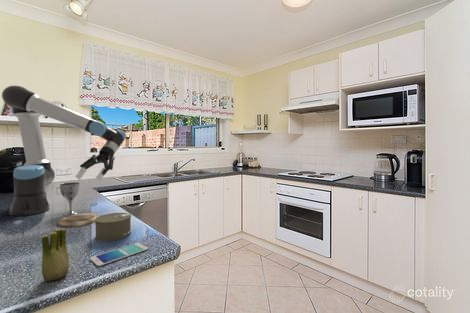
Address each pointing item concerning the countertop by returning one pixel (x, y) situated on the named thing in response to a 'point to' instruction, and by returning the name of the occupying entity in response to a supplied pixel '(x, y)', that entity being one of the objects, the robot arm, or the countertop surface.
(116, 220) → the can
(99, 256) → the smartphone
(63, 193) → the wine glass
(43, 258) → the fennel bulb
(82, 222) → the trivet
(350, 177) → the countertop surface
